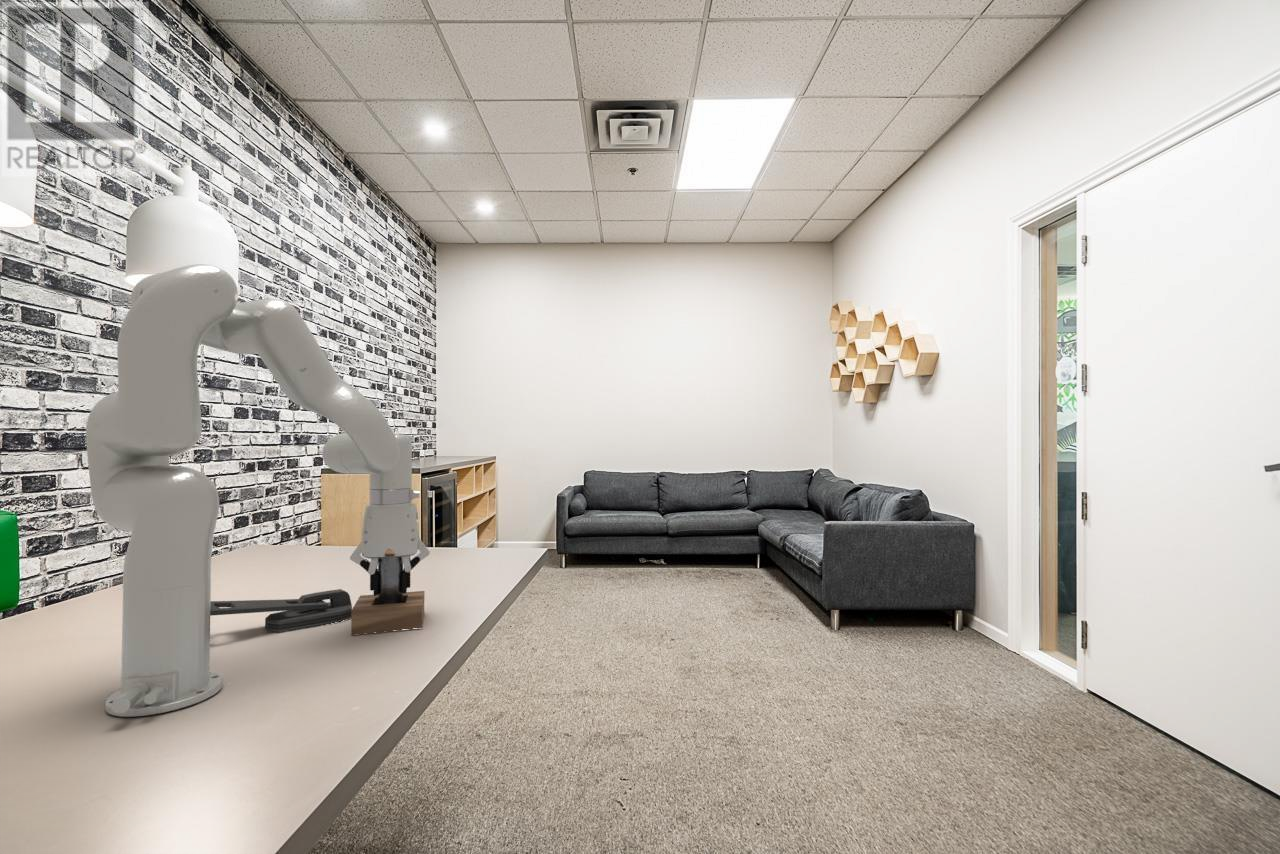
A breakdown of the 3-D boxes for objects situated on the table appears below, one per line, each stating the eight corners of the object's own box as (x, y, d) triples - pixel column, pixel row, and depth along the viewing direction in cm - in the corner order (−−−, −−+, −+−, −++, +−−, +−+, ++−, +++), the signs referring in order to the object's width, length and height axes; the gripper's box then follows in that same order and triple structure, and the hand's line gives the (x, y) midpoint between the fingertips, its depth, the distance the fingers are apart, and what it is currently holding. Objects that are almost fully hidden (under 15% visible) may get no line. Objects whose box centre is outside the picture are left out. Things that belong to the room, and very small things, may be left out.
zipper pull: (194, 601, 107) (342, 578, 125) (194, 638, 107) (342, 610, 125) (204, 611, 101) (358, 585, 119) (203, 650, 101) (358, 619, 118)
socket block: (421, 629, 112) (422, 604, 112) (351, 635, 108) (351, 610, 108) (424, 613, 122) (424, 590, 122) (359, 618, 119) (360, 595, 119)
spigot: (402, 611, 114) (402, 548, 114) (376, 613, 112) (376, 549, 113) (404, 605, 118) (404, 544, 118) (378, 607, 117) (379, 545, 117)
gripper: (437, 494, 122) (437, 585, 121) (346, 497, 117) (345, 591, 116) (436, 498, 115) (436, 594, 114) (339, 501, 110) (338, 601, 109)
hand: (390, 591), depth 115 cm, fingers closed on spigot, 4 cm apart
